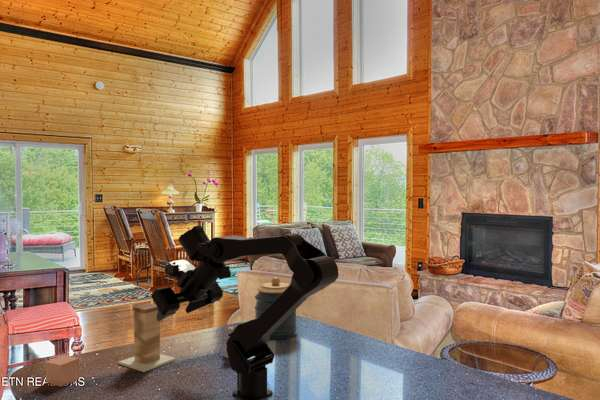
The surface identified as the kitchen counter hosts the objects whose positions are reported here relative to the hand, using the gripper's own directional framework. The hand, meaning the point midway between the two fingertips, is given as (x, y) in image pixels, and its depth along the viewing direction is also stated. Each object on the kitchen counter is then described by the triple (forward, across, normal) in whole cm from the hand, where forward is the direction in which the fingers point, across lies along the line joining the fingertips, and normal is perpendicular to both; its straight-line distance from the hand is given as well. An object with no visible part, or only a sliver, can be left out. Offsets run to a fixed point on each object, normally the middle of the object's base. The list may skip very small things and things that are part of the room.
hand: (172, 315), depth 122 cm
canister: (+8, -38, +12) cm, 41 cm away
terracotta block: (+21, +19, -2) cm, 29 cm away
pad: (+16, 0, +3) cm, 17 cm away
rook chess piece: (+6, -16, +13) cm, 21 cm away
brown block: (+16, 0, +2) cm, 16 cm away
